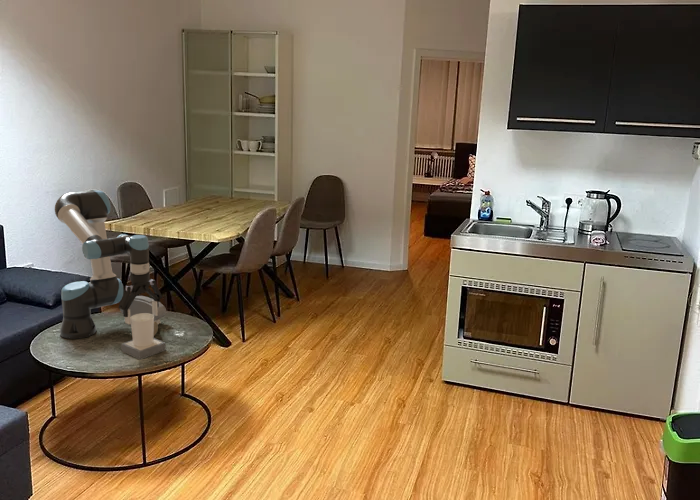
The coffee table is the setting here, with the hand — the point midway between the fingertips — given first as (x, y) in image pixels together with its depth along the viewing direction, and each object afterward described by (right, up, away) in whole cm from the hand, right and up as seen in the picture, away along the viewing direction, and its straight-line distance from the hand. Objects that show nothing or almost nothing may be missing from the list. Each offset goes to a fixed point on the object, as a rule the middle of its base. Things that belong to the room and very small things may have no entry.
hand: (141, 319), depth 266 cm
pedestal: (0, -14, +3) cm, 14 cm away
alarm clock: (-11, -6, +36) cm, 38 cm away
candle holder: (0, -11, +2) cm, 11 cm away
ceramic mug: (-4, -10, +22) cm, 24 cm away
